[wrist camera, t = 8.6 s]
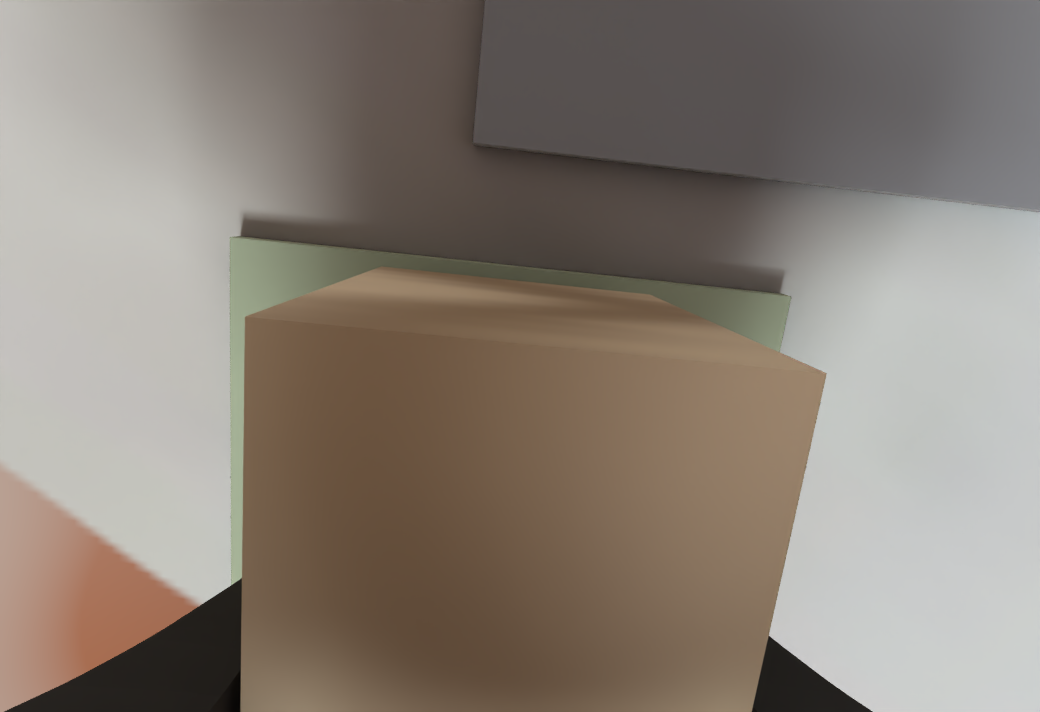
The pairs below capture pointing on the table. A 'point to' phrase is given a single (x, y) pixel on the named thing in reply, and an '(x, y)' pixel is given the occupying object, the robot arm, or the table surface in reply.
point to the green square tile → (309, 267)
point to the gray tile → (776, 90)
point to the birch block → (511, 499)
